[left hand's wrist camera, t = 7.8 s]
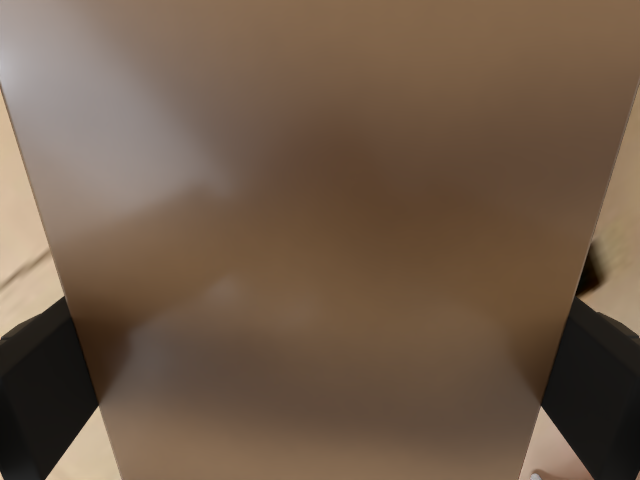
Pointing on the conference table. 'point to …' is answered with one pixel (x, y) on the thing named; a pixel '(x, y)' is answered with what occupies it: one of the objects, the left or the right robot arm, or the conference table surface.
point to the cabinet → (319, 219)
